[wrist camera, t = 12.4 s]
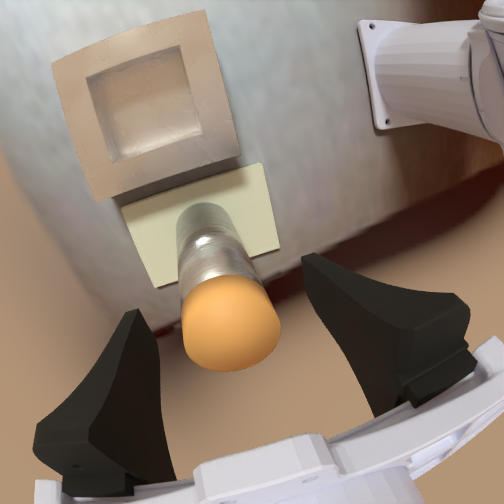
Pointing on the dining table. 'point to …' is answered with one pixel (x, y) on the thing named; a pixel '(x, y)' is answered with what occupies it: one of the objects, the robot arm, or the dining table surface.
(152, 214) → the key mat
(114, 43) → the block
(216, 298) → the orange capped bottle
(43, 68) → the dining table surface
